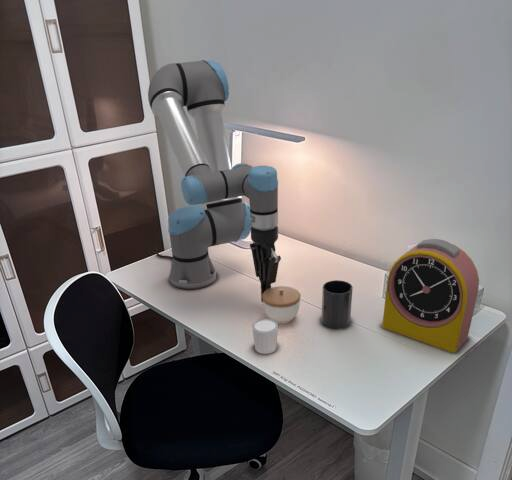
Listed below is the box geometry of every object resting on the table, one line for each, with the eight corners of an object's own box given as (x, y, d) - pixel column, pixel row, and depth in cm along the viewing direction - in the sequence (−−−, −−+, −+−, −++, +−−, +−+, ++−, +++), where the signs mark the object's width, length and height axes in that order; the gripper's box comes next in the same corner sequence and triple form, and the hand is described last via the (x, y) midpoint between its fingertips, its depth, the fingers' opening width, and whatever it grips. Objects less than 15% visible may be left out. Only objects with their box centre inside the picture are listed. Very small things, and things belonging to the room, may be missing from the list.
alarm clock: (380, 327, 145) (390, 238, 131) (396, 313, 151) (407, 226, 136) (454, 353, 134) (474, 258, 119) (468, 337, 140) (489, 245, 125)
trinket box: (294, 330, 146) (294, 301, 141) (258, 325, 149) (256, 296, 144) (304, 311, 154) (304, 283, 149) (269, 307, 157) (268, 278, 152)
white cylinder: (283, 349, 138) (283, 326, 135) (262, 358, 135) (261, 335, 131) (268, 337, 143) (268, 315, 139) (247, 346, 140) (246, 324, 136)
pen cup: (316, 319, 150) (317, 285, 144) (338, 311, 153) (339, 277, 147) (333, 332, 144) (335, 297, 138) (355, 323, 148) (358, 288, 142)
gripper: (240, 221, 146) (244, 296, 159) (264, 236, 137) (266, 313, 150) (263, 216, 149) (265, 289, 162) (288, 229, 140) (288, 306, 153)
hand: (266, 301), depth 156 cm, fingers closed
